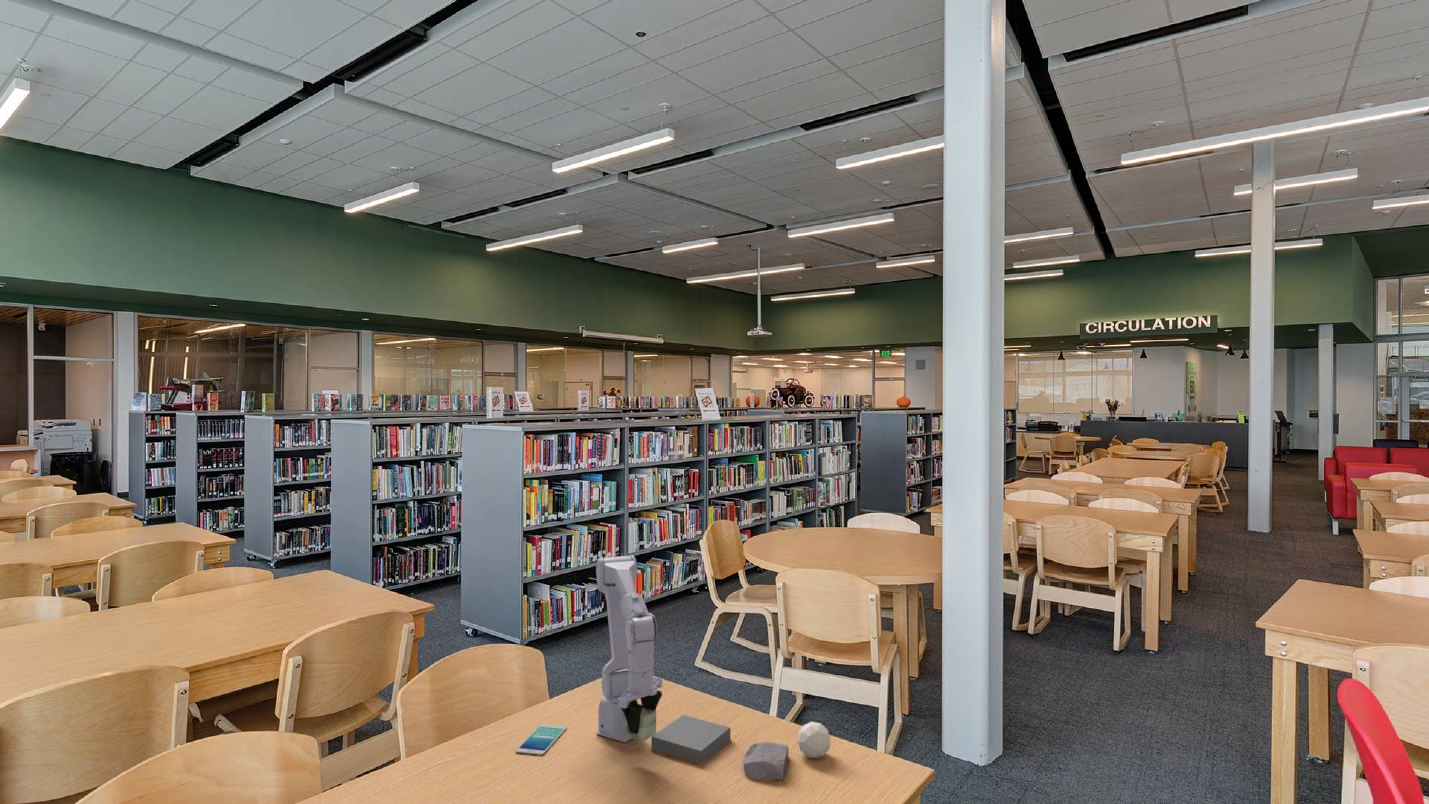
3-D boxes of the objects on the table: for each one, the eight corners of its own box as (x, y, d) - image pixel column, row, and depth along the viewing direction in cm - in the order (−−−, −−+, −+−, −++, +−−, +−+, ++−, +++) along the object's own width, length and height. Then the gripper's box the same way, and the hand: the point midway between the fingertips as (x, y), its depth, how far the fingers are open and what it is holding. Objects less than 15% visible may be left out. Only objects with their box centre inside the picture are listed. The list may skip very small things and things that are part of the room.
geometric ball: (805, 768, 167) (785, 738, 168) (825, 745, 172) (805, 717, 173) (823, 764, 161) (802, 733, 163) (843, 741, 166) (822, 711, 168)
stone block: (742, 786, 157) (786, 782, 155) (738, 764, 158) (782, 759, 156) (750, 762, 169) (791, 758, 167) (746, 742, 169) (787, 737, 167)
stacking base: (651, 749, 170) (651, 736, 170) (683, 726, 182) (683, 714, 182) (700, 764, 163) (700, 751, 163) (730, 739, 175) (730, 727, 175)
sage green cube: (625, 736, 162) (625, 714, 162) (638, 727, 167) (638, 706, 167) (643, 741, 160) (643, 719, 160) (656, 732, 164) (656, 711, 164)
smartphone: (568, 726, 181) (543, 754, 167) (568, 729, 181) (543, 757, 167) (540, 723, 183) (513, 751, 168) (540, 727, 183) (513, 754, 168)
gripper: (636, 683, 155) (635, 745, 155) (673, 662, 168) (672, 719, 167) (610, 676, 159) (610, 737, 159) (648, 657, 171) (648, 713, 171)
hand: (640, 728), depth 163 cm, fingers closed on sage green cube, 5 cm apart
